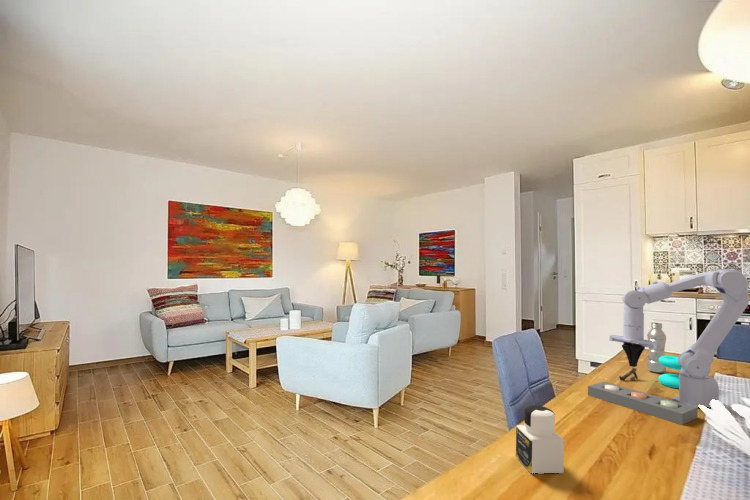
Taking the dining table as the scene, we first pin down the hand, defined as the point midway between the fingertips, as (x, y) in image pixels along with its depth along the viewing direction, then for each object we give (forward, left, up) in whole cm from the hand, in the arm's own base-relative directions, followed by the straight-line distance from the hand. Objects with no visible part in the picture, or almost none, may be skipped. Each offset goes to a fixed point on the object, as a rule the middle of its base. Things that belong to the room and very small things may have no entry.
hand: (633, 366), depth 129 cm
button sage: (+1, +17, -8) cm, 19 cm away
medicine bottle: (+53, +46, -10) cm, 71 cm away
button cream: (+9, +3, -9) cm, 13 cm away
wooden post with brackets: (-10, -16, -10) cm, 21 cm away
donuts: (-23, -10, -10) cm, 27 cm away
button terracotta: (+5, +10, -9) cm, 14 cm away
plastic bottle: (-29, -27, -10) cm, 41 cm away
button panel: (+5, +10, -9) cm, 15 cm away
